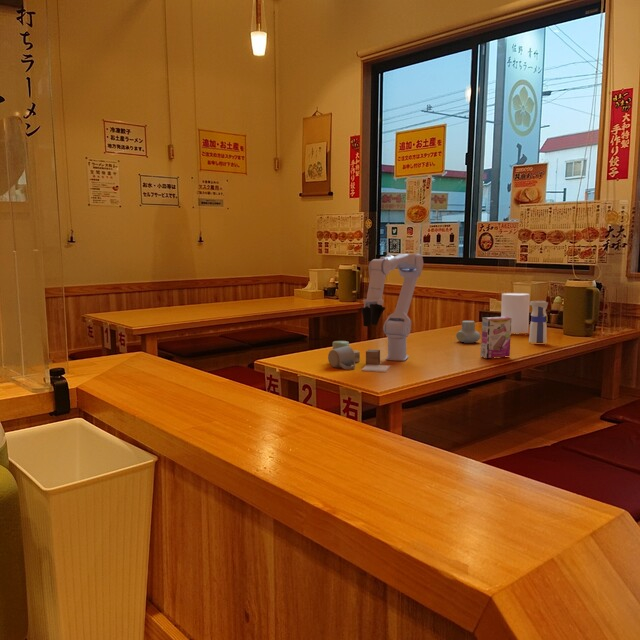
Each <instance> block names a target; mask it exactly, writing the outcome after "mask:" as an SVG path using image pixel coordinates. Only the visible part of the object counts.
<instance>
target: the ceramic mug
mask: <svg viewBox="0 0 640 640" xmlns="http://www.w3.org/2000/svg"><path fill="white" fill-rule="evenodd" d="M354 351H355V350H353V348H352V347H351V346H350V345H349V346H345V347H341V348H336V349H333V348H332V349H331V350H330V351H329V352H328V355H327V359H328V363H329V365H330V366H331V368H332V367H333V368H334V369H338V368H342V369H344V370H346V371H347V370H348V371H350V369H352V370H355V368H356V362H355V354H354Z"/></svg>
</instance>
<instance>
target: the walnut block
mask: <svg viewBox="0 0 640 640" xmlns="http://www.w3.org/2000/svg"><path fill="white" fill-rule="evenodd" d="M367 364H368V365H381V350H380V349H371V348H370V349H369V348H368V349H367V350H366V351H365V366H366V365H367Z"/></svg>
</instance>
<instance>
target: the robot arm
mask: <svg viewBox="0 0 640 640" xmlns="http://www.w3.org/2000/svg"><path fill="white" fill-rule="evenodd" d="M423 267H424V258H423V255H422V254H421V253H398V254H396V255H395V256H394V255H392V254H390V253H389V254H386V255H385V256H380V258H374V259H372V260H371V261H369V264H368V277H369V282H368V288H367V293H366V298H365V299H363V300H362V302H364V304H363V307H360V312H361V314H362V322H363V327H366V328H369V327H370V325H371V326H377V325H378V323H379V320H380V318H381V317H382V315H383V313H384V311H385V310H386V307H384V306H383V305H384V302H385V301H384V299H383V294H384V289H385V282H386V277H387V276H386V275H389V273H390V272H391V271H393V270H395V269H396V268H397V270H398V272H399V275H400V276H401V277H402V278H403V282H402V286H401V290H400V293H399V296H398V299H397V302H396V307H395V309H394V312H393V313H391V314H389V315H388V316H387V319H386V320H385V321H384V322H383V323H384V324H383V327H382V328H383V329H382V330H383V333H384V335H386V338H387V357H386V358H384V359H385V361H400V362H401V361H402V362H405V361H406V360H407V359H408V358H409V356H410V355H408V354H407V338H408V337H409V335H410V333H411V331H412V328H411V326H412V320H411V318H410V317H409V315H408V312H409V310H410V306H411V302H412V299H413V295H414V293H415V288H416V284H417V282H418V278H419V277H421V274H422V272H423V271H422V270H423Z"/></svg>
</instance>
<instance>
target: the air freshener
mask: <svg viewBox="0 0 640 640" xmlns="http://www.w3.org/2000/svg"><path fill="white" fill-rule="evenodd" d="M455 336H456V337H455V338H456V339H457V341H459V342H461V343H462V342H464V343H463V344H474V342H475V343H476V342H478V341H479V340H481V339H480V338H481V334H480V332H478V331H477V330H476V321H474V320H462V321H461V330H459V331H457V332H456V335H455Z"/></svg>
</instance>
